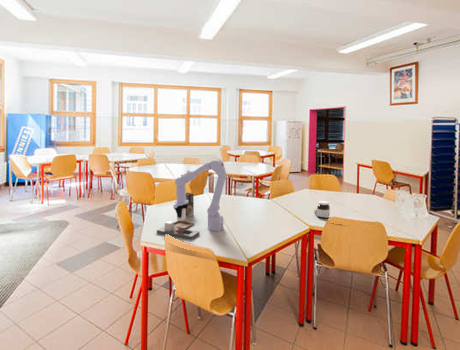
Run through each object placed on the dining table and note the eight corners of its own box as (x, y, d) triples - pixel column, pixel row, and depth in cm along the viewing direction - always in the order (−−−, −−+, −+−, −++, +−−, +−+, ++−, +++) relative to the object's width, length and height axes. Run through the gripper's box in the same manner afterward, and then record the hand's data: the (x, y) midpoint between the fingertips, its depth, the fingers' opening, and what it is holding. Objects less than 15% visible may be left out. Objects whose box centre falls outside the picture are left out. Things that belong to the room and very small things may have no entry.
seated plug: (174, 232, 181) (174, 221, 180) (170, 235, 178) (170, 223, 176) (168, 231, 183) (168, 220, 182) (164, 233, 179) (164, 222, 178)
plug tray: (194, 225, 195) (194, 222, 195) (184, 231, 184) (184, 228, 184) (178, 222, 200) (178, 220, 199) (168, 228, 189) (168, 225, 189)
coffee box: (187, 213, 221) (187, 192, 219) (194, 215, 217) (193, 193, 215) (178, 216, 214) (178, 194, 212) (184, 218, 210) (184, 195, 208)
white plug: (185, 218, 192) (185, 208, 191) (182, 220, 189) (182, 209, 187) (180, 218, 194) (180, 207, 193) (177, 219, 190) (176, 209, 189)
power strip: (199, 235, 177) (199, 230, 177) (191, 240, 169) (191, 235, 168) (165, 229, 187) (165, 224, 186) (156, 234, 178) (156, 228, 178)
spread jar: (325, 220, 210) (326, 204, 208) (310, 217, 217) (311, 201, 215) (331, 216, 219) (332, 200, 217) (316, 213, 226) (317, 198, 224)
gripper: (181, 192, 197) (182, 212, 199) (169, 197, 184) (169, 218, 186) (191, 193, 194) (191, 214, 196) (178, 198, 181) (179, 220, 183)
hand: (181, 216), depth 191 cm, fingers closed on white plug, 4 cm apart
